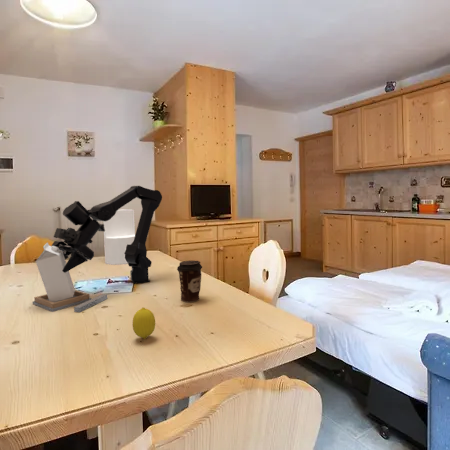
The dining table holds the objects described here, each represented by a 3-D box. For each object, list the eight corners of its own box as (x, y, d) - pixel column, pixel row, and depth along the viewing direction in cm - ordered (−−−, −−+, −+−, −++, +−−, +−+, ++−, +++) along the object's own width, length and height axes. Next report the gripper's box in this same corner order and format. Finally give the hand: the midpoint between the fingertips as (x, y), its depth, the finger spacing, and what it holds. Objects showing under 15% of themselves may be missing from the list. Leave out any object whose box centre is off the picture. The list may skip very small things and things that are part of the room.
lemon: (135, 334, 87) (133, 304, 87) (157, 333, 88) (155, 303, 87) (131, 344, 82) (129, 312, 81) (154, 342, 82) (153, 310, 81)
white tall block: (99, 261, 186) (97, 210, 183) (128, 257, 198) (126, 209, 195) (113, 266, 173) (110, 211, 171) (143, 261, 185) (141, 209, 182)
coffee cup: (207, 297, 118) (206, 260, 117) (197, 304, 110) (196, 265, 109) (184, 295, 121) (183, 259, 119) (173, 302, 113) (172, 264, 112)
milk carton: (50, 304, 111) (31, 249, 107) (54, 296, 118) (36, 245, 114) (73, 297, 113) (55, 243, 109) (75, 290, 120) (58, 239, 116)
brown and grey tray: (71, 294, 125) (70, 288, 125) (91, 300, 117) (91, 294, 116) (32, 304, 114) (32, 297, 114) (52, 311, 106) (51, 304, 106)
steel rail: (102, 298, 119) (102, 294, 119) (107, 298, 118) (107, 294, 118) (74, 311, 106) (74, 307, 105) (79, 312, 105) (79, 307, 105)
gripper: (55, 218, 122) (24, 253, 114) (83, 220, 110) (51, 259, 103) (77, 237, 129) (50, 271, 121) (106, 240, 117) (78, 279, 110)
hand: (56, 270), depth 113 cm, fingers closed on milk carton, 8 cm apart
